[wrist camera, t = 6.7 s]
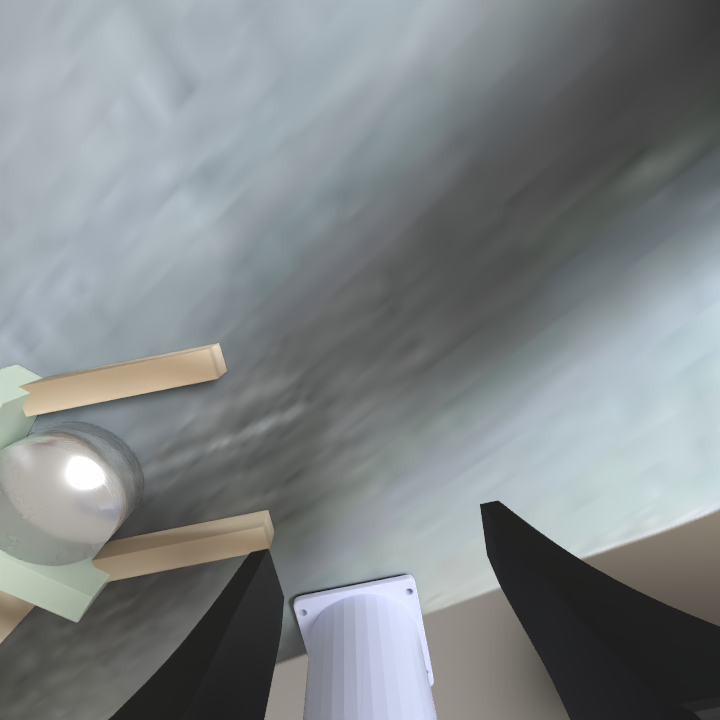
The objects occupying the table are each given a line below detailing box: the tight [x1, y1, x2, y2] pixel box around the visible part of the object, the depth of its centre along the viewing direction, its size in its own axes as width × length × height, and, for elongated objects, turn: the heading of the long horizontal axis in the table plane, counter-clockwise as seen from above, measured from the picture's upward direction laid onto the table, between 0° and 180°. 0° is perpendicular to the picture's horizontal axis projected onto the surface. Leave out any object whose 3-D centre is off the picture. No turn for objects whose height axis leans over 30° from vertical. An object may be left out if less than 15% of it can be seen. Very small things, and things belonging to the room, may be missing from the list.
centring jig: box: [0, 343, 275, 643], centre depth 19 cm, size 16×18×3 cm
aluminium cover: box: [0, 422, 144, 566], centre depth 20 cm, size 7×7×3 cm
